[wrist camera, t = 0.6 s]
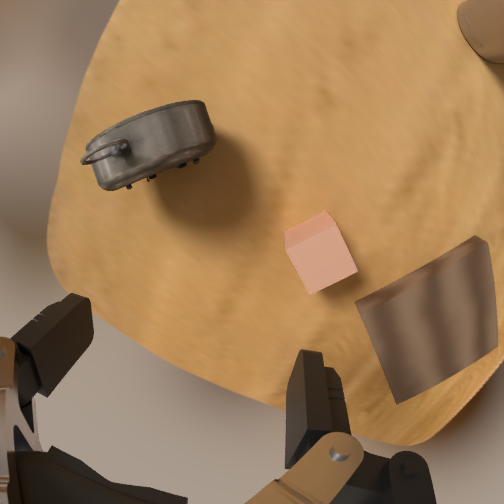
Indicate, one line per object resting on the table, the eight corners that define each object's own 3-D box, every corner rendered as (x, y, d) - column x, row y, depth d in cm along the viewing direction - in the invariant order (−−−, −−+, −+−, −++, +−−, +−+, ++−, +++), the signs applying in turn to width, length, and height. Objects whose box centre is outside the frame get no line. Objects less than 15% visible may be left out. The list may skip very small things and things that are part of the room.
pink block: (326, 210, 31) (336, 224, 26) (345, 249, 33) (358, 271, 27) (284, 231, 33) (285, 250, 27) (305, 269, 34) (309, 294, 28)
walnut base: (475, 235, 30) (487, 242, 28) (489, 335, 35) (498, 346, 32) (354, 302, 34) (360, 314, 32) (391, 391, 39) (396, 404, 36)
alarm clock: (216, 106, 29) (157, 71, 13) (232, 154, 30) (186, 163, 15) (125, 143, 30) (22, 152, 15) (140, 187, 32) (44, 225, 17)
